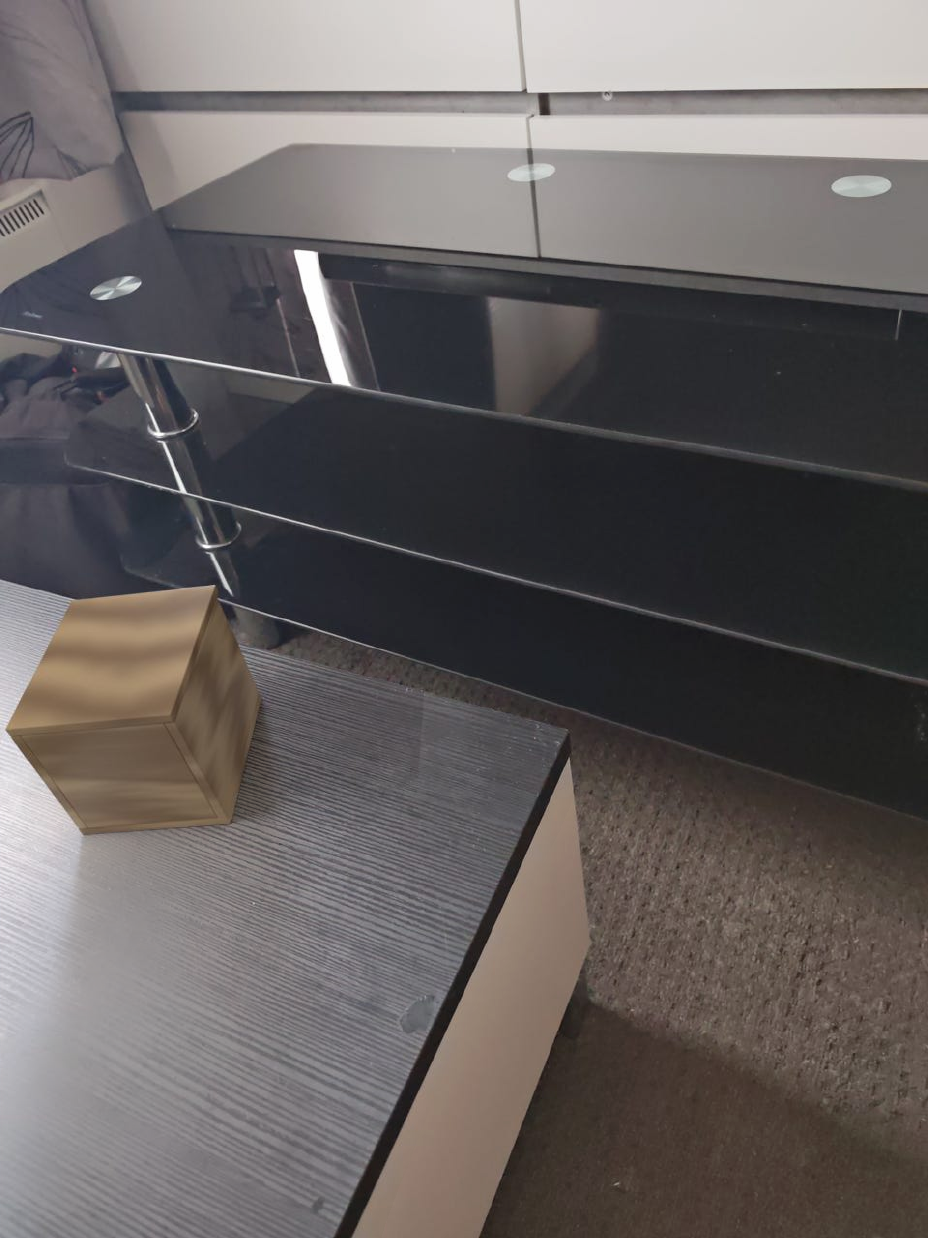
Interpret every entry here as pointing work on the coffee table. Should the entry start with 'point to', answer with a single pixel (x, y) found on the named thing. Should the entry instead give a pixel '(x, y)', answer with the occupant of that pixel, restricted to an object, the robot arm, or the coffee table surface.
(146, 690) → the lid
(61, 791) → the box
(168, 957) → the coffee table surface
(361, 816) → the coffee table surface
